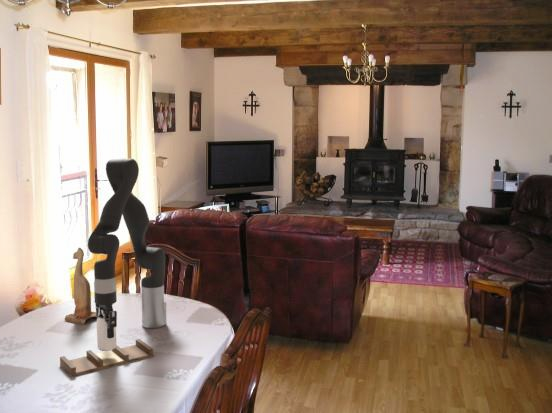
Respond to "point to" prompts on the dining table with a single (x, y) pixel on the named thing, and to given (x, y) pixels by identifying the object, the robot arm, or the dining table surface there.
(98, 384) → the dining table surface
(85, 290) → the bird sculpture
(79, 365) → the notch rack
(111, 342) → the can
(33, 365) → the dining table surface
